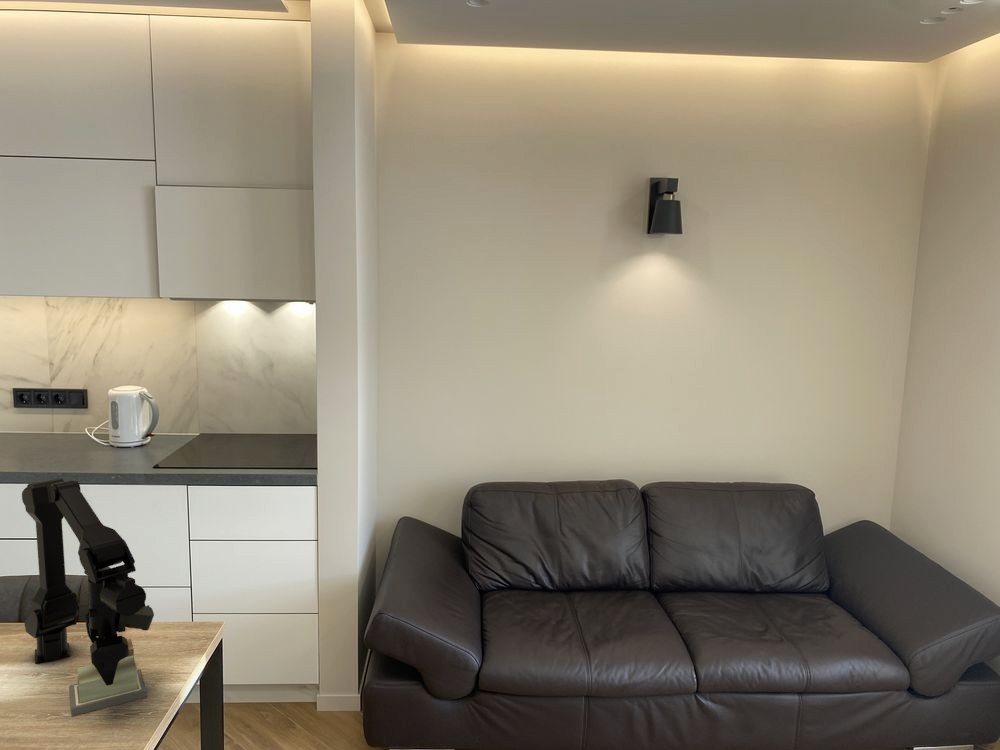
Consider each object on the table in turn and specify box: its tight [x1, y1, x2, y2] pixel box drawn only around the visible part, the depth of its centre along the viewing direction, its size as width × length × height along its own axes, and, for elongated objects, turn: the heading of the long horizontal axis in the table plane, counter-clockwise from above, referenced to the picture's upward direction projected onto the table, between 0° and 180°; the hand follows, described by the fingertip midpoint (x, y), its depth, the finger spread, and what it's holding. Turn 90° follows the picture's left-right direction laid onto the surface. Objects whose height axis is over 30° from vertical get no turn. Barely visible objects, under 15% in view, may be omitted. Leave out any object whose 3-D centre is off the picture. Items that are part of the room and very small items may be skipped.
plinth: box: [68, 668, 148, 717], centre depth 143 cm, size 9×13×2 cm
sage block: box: [77, 655, 138, 703], centre depth 143 cm, size 6×10×4 cm, turn 123°
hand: (107, 673), depth 143 cm, fingers open, 9 cm apart
